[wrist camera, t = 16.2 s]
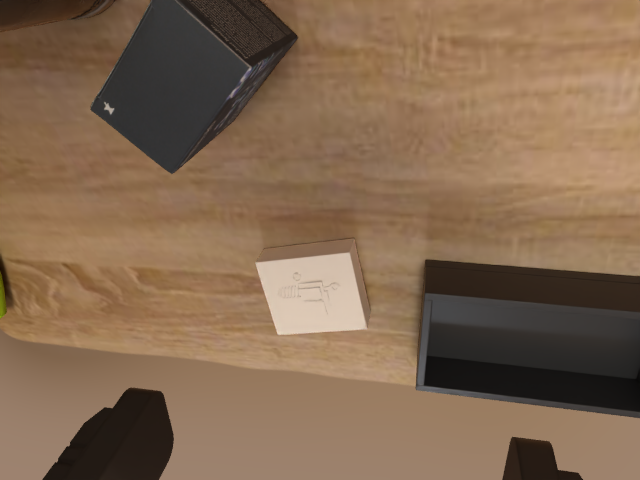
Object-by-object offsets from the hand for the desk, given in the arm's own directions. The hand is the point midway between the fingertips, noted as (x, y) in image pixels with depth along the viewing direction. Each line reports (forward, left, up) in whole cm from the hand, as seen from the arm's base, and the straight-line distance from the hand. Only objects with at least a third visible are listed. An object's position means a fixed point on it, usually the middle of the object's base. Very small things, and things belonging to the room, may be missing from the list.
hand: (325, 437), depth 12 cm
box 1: (-10, -6, -27) cm, 29 cm away
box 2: (0, -12, -27) cm, 30 cm away
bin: (+19, -1, -27) cm, 33 cm away
